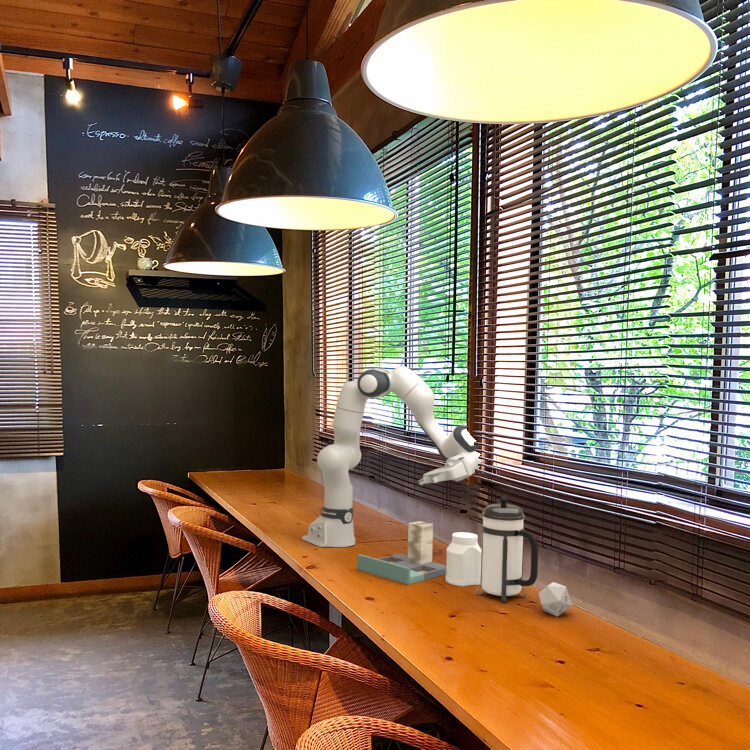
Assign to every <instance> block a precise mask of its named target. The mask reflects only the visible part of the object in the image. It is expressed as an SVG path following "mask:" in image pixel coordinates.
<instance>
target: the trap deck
mask: <svg viewBox="0 0 750 750" xmlns="http://www.w3.org/2000/svg"><path fill="white" fill-rule="evenodd" d="M356 558H357V559H356V560H357V561H356V570H357V571H361V572H364V573H367V572H368V574H371V575H374V576H377V577H381V578H384V579H388V580H391V581H394V582H397V583H401V584H405V585H406V586H407V585H412V584H414V583H416V584H417V583H420V582H423V581H426V580H429V579H433V578H436V577H441V576H446V564H443V563H438V562H434V561H432V562H429V563H425V564H417V563H413V562H410V561H408V554H404V553H397V554H392V555H388V556H384V557H379V558H374V557H371V556H368V555H365V554H361V553H359V554H357V557H356Z"/></svg>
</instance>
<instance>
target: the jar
mask: <svg viewBox="0 0 750 750" xmlns="http://www.w3.org/2000/svg"><path fill="white" fill-rule="evenodd" d="M478 537H479V535H478V534H476V533H472V532H463V531H462V532H461V531H460V532H459V531H458V532H453V533H452V534H451V542H450V544H449V545H448V546H447V548H446V552H445V553H446V564H445V565H446V574H445V582H446V583H448V584H449V585H453V586H457V587H458V586H459V587H466V586H480V578H481V576H482V575H481V546H480V545H479V543H478V540H479V539H478Z"/></svg>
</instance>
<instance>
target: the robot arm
mask: <svg viewBox="0 0 750 750" xmlns="http://www.w3.org/2000/svg"><path fill="white" fill-rule="evenodd" d="M390 393H393V394H395V395H396V396H397V397H399V399H400V400H401V401H402V402H403V403H404V404H405V405H406V407H407V408H408V409H409V411H410V412H411V414H412V415H413V417H414V419H415V421H416V423H417V424H418V426H419V427H420V428H421V429H422V431H423V432H424V434H425V435H426V437H428V438H429V440H430V441H431V442H432V443H433V445H434V446H435V447H436V450H437V452H438V454H439V456H440V458H441V459H442V460H443V461H444V462H445V464H444V466H443V467H439V468H436V469H432V470H431V471H427V472H426V473H423V475H422V478H421V479H419V480H418V485H419V486H423V485H428V484H437V483H439V482H445V481H451V480H452V481H454V482H461V481H462V480H464V479H467V478H469V477H470V476H472V475H473V474H476V473H475V469H479V467H480V466H478V464H480V463H481V462H482V460H481V459H479V458H478V457H479V456H480V455H481V454H480V453H478V452H476V451H475V449H477V448H478V447H479V445H474V442H476V441H477V440H475V439H474V438H473V437H472V436H471V435H470V433H469V432H468V431H467V427H468V426H467V425H458V426H456V427H455V428H454V429H453V430H452V431H451V432H450V433H449V435H448V434H447V433H446V432H445V430H444V429H443V428H442V427H441V425H440V424H439V423H438V422H437V420H436V419H435V415H434V404H435V394H434V392H433V390H432V388H431V387H430V385H429V384H428V383H426V381H424V380H423V378H421V376H419V375H418V374H417V373H416V372H414V371H413V370H412V369H410V368H409V367H407V366H405V365H400V366H397V367H395V368H394V369H393V370H392V371H390V372H389V370H387V369H383V368H372V369H366V370H364V371H363V372H362V373H360V375H359V376H358V379H357V381H355V380H349V381H346V382H345V383H344V384H343V385H342V388H341V390H340V392H339V395H338V397H337V401H336V406H335V410H334V416H333V420H332V426H331V427H332V429H333V437H334V440H333V444H329V445H327V446H325V447H323V448H322V449H321V450H320V451H319V452H318V454H317V457H316V461H317V462H316V463H317V466H318V467H319V469H320V471H321V475H322V479H323V485H324V486H323V487H324V499H323V500H324V501H323V502H324V504H323V507H320V508H319V509H318V510H319V511H321V512H320V515H319V516H318V517H316V519H315V520H313V521H312V522H311V523H310V524H309V526H308V531H307V534H305V535H303V536H302V537H301V540H303V541H305V542H308V543H309V544H312V545H315V546H316V547H320V548H322V547H323V548H324V547H325V548H326V547H327V548H328V547H330V548H344V547H345V548H347V547H352V546H354V545H356V537H355V528H354V525H355V524H354V520H353V517H354V506H353V500H354V499H353V498H354V497H353V496H354V494H353V493H354V487H353V485H352V483H351V480H350V475H349V470H353V469H354V468H355V467H356V466H358V464H359V463H360V462H361V459H362V451H361V449H360V440H361V438H360V437H361V429H362V424H363V418H364V415H365V414H364V412H365V409H366V404H367V401H368V400H369V398H374V399H375V398H376V399H377V398H378V399H379V398H381V397H384V396H387V395H389V394H390Z"/></svg>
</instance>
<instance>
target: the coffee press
mask: <svg viewBox="0 0 750 750" xmlns="http://www.w3.org/2000/svg"><path fill="white" fill-rule="evenodd" d="M499 501H500V502H499V503H492V504H489V505H486V507H484V508H483V511H482V512H481V515H482V524H481V546H480V548H481V578H480V585H478V586H479V587H477V589H476V590H475V592H476V595H477V596H481V595H483V593H487V594H491V595H494V596H499V597H500V601H501V604H503V603H504V604H505V603H507V597H511V596H515V595H517V594H518V595H519V596H521V598H526V596H527V593H526V592H525V590H524V589H523V587H530V586H532V585H534V584H535V583H536V581H537V579H538V570H539V569H538V568H539V544H538V542H537V538H536V537H535V535H534V534H532V533H531V532H529V531H527V530H525V527H524V520H525V519H526V515H525V514H524V511H523V509H522V508H520V506H517V505H514V504H509V503H507V502H508V501H509V499H508V498H507V497H506V496H501V497H500V499H499ZM524 538H526V539H527V540H528V541H529V543H530V549H531V550H530V551H531V552H530V576H529V578H528V579H527V580H526V579H523V577H524V574H523V573H524V546H525V545H524V541H525V539H524ZM481 588H482V590H481V592H479V590H480V589H481ZM521 590H522V591H523V593H524V595H523V594H521ZM478 592H479V593H478Z"/></svg>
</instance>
